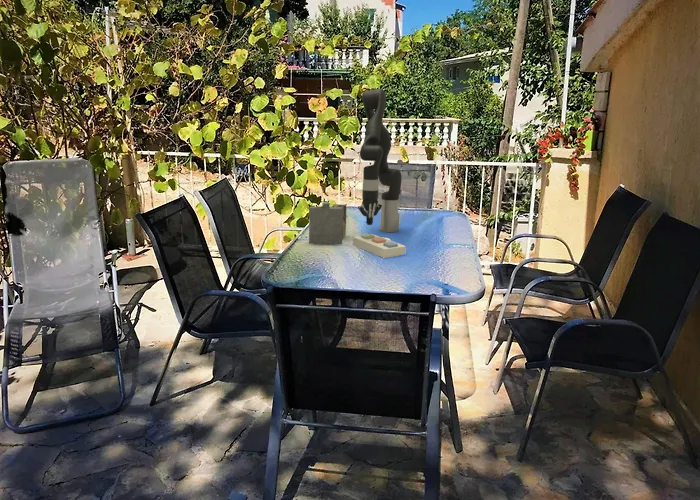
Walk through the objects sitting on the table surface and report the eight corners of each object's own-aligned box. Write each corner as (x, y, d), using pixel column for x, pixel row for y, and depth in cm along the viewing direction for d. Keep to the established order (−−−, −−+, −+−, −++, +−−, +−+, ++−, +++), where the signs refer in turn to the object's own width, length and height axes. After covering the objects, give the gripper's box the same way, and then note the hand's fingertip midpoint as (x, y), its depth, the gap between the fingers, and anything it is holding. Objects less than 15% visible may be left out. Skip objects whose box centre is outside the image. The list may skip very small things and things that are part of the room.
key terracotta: (379, 243, 252) (380, 237, 252) (385, 245, 249) (385, 239, 248) (371, 244, 250) (372, 238, 249) (377, 246, 246) (377, 240, 245)
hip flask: (341, 242, 261) (342, 202, 256) (342, 244, 257) (343, 203, 252) (309, 242, 260) (309, 201, 255) (308, 244, 256) (309, 202, 251)
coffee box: (333, 234, 276) (334, 203, 272) (346, 235, 275) (346, 204, 271) (329, 238, 268) (330, 207, 264) (342, 239, 267) (342, 207, 262)
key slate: (391, 247, 245) (391, 241, 244) (397, 250, 241) (397, 244, 241) (383, 248, 243) (383, 242, 242) (389, 251, 239) (389, 245, 238)
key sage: (368, 239, 260) (369, 233, 259) (374, 241, 256) (374, 235, 255) (360, 240, 257) (361, 234, 256) (366, 242, 253) (366, 236, 253)
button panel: (373, 242, 263) (373, 234, 262) (405, 254, 243) (406, 246, 242) (352, 245, 257) (352, 236, 256) (384, 258, 236) (384, 249, 235)
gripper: (377, 186, 257) (376, 221, 262) (354, 188, 250) (353, 224, 255) (386, 188, 251) (385, 224, 256) (363, 190, 244) (362, 227, 249)
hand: (369, 224), depth 256 cm, fingers closed
